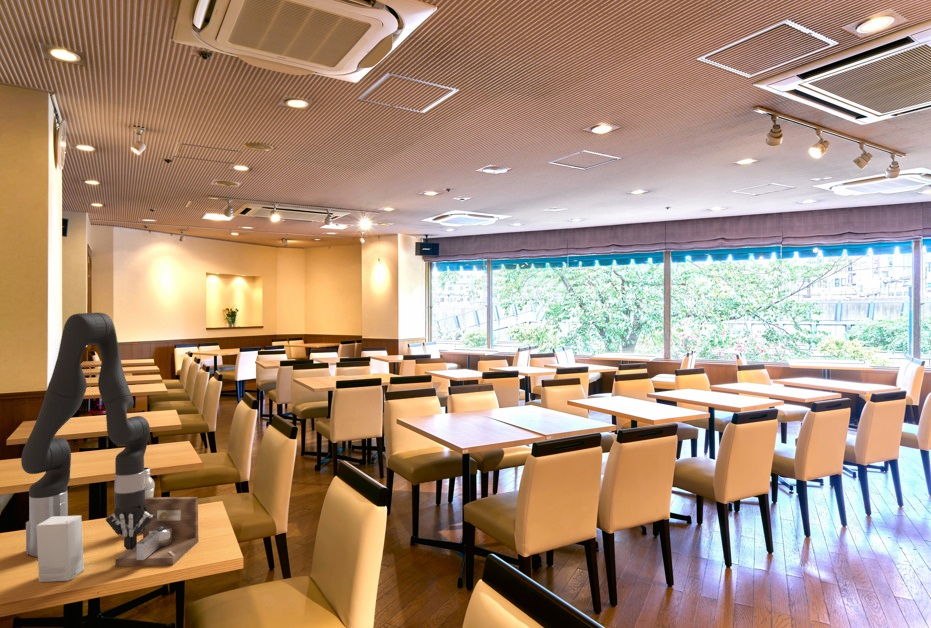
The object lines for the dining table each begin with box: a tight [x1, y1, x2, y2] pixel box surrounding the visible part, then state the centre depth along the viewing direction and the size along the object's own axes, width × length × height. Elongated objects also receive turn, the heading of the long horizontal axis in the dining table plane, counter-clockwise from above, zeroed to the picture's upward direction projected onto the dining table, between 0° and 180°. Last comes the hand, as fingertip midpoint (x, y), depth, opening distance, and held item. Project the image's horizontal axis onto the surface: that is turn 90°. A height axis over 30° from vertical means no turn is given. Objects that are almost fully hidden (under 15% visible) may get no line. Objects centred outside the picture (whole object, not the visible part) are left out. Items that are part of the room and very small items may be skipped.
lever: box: [137, 525, 172, 560], centre depth 163 cm, size 14×6×5 cm, turn 2°
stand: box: [114, 496, 199, 567], centre depth 166 cm, size 16×16×14 cm
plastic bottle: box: [138, 467, 156, 528], centre depth 183 cm, size 6×7×20 cm
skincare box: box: [36, 515, 85, 583], centre depth 151 cm, size 8×7×16 cm
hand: (130, 548), depth 160 cm, fingers closed
